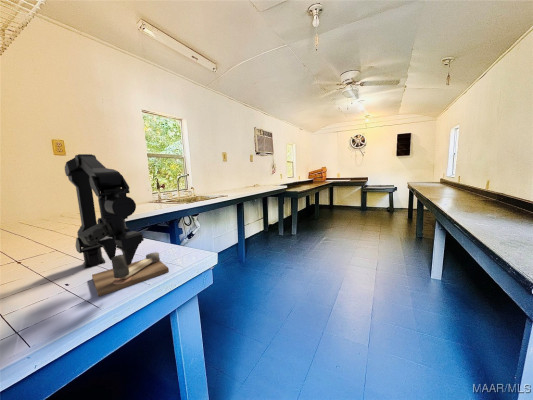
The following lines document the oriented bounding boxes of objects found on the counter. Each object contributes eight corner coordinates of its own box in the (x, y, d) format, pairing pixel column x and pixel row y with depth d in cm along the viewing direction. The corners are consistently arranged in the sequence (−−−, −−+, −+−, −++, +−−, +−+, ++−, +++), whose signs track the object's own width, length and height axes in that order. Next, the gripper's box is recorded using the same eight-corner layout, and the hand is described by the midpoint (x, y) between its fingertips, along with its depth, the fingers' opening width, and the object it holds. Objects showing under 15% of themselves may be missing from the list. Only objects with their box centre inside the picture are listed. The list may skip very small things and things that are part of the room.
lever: (152, 258, 85) (149, 239, 84) (162, 258, 84) (159, 239, 83) (111, 282, 67) (107, 259, 66) (123, 283, 66) (119, 260, 65)
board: (92, 278, 74) (91, 274, 74) (155, 259, 88) (154, 255, 87) (98, 296, 63) (97, 291, 63) (168, 271, 77) (168, 267, 76)
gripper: (64, 217, 63) (74, 267, 65) (97, 222, 54) (107, 281, 56) (107, 209, 72) (114, 253, 75) (141, 213, 63) (148, 263, 66)
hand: (120, 262), depth 68 cm, fingers open, 9 cm apart
